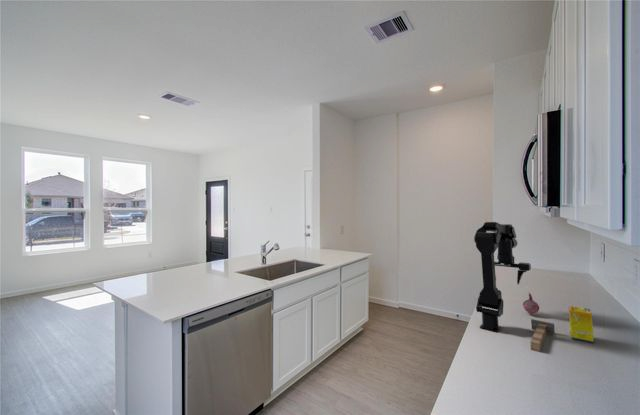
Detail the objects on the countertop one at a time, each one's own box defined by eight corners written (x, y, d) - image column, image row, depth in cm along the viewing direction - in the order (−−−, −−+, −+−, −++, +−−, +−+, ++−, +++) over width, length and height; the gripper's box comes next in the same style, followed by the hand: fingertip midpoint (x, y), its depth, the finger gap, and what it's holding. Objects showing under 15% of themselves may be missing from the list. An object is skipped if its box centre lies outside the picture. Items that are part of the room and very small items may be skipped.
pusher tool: (548, 354, 90) (547, 342, 90) (522, 347, 95) (522, 336, 95) (554, 333, 105) (554, 323, 105) (532, 328, 110) (531, 319, 110)
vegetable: (536, 312, 126) (535, 291, 127) (542, 317, 121) (541, 295, 121) (520, 311, 128) (519, 290, 129) (526, 316, 122) (525, 294, 123)
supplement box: (569, 333, 105) (568, 305, 105) (591, 337, 101) (589, 308, 101) (571, 339, 100) (569, 309, 100) (594, 344, 96) (592, 313, 96)
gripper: (531, 249, 129) (533, 282, 128) (487, 247, 142) (488, 277, 141) (528, 252, 121) (529, 287, 120) (481, 249, 134) (482, 281, 133)
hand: (506, 282), depth 129 cm, fingers open, 9 cm apart
